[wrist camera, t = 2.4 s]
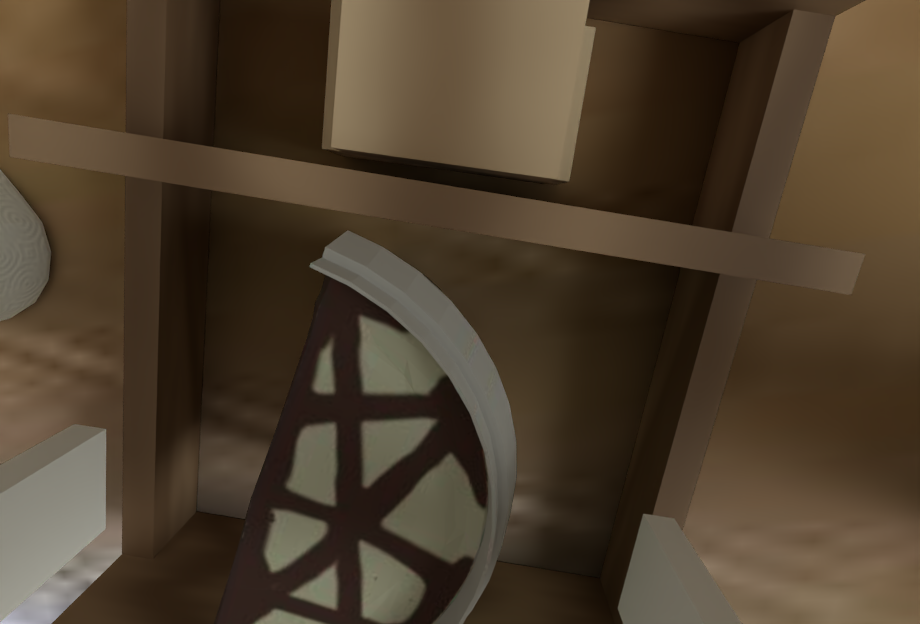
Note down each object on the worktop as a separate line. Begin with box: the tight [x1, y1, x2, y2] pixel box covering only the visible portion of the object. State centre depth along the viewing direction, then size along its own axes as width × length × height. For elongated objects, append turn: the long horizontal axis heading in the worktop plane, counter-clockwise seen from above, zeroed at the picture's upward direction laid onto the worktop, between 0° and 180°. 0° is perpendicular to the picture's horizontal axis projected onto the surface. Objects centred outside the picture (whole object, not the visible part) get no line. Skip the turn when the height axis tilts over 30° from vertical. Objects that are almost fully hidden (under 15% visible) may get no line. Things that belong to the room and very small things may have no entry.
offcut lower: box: [322, 0, 596, 185], centre depth 17 cm, size 8×4×3 cm, turn 83°
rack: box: [8, 0, 865, 624], centre depth 16 cm, size 21×24×7 cm
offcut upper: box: [331, 0, 590, 183], centre depth 14 cm, size 6×4×3 cm
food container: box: [214, 230, 517, 624], centre depth 15 cm, size 12×6×10 cm, turn 159°
